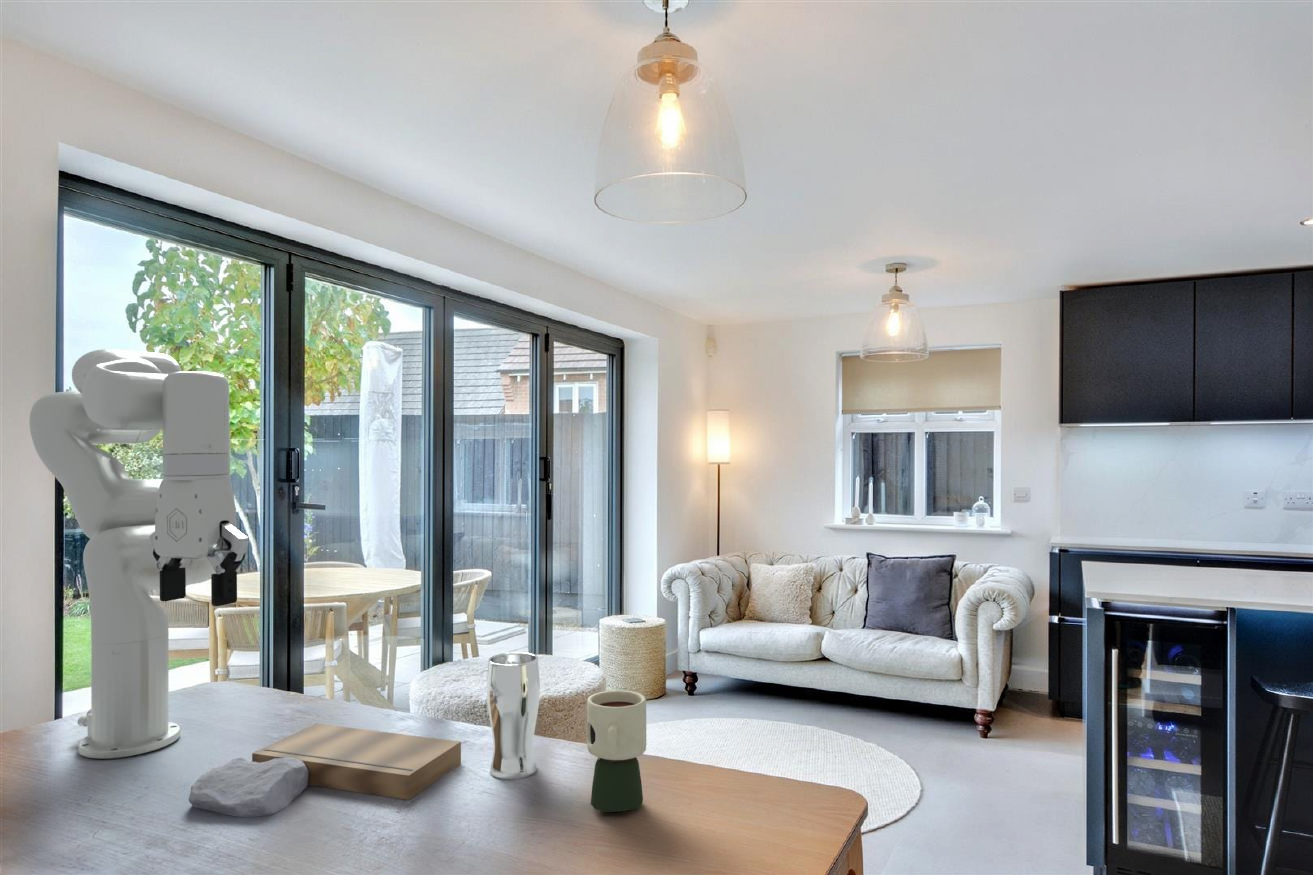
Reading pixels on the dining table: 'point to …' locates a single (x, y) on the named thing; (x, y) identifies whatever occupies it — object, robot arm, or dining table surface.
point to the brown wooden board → (367, 759)
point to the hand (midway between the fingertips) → (198, 601)
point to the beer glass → (513, 713)
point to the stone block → (250, 787)
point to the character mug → (616, 748)
